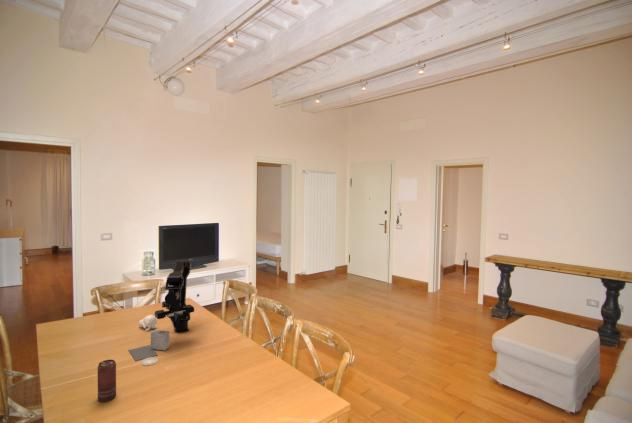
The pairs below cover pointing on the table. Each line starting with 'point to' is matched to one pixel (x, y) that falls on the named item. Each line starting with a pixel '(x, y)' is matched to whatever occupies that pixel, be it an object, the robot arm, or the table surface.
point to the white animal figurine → (148, 322)
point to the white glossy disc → (149, 361)
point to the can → (106, 380)
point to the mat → (142, 353)
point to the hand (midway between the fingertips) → (174, 327)
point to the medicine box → (160, 340)
